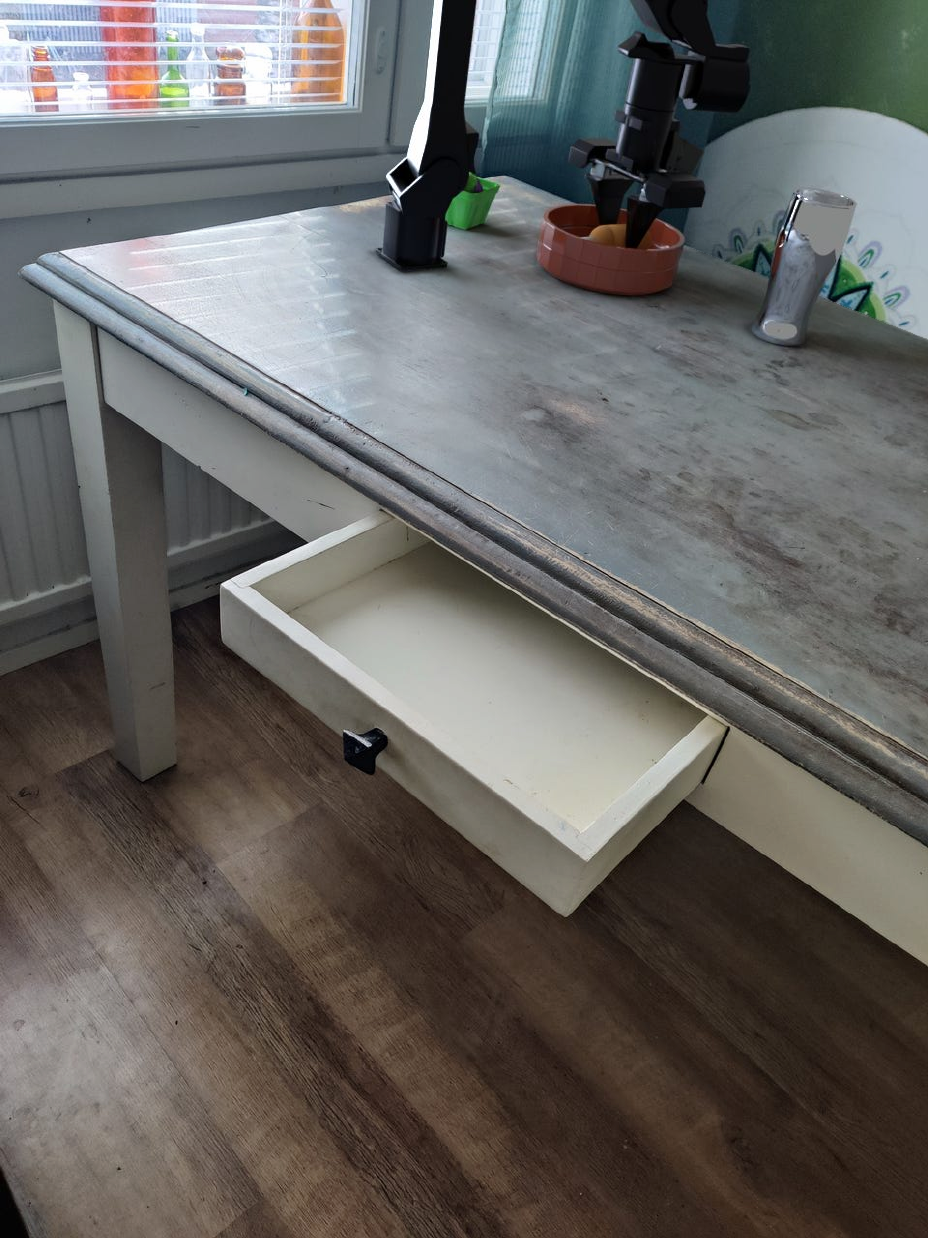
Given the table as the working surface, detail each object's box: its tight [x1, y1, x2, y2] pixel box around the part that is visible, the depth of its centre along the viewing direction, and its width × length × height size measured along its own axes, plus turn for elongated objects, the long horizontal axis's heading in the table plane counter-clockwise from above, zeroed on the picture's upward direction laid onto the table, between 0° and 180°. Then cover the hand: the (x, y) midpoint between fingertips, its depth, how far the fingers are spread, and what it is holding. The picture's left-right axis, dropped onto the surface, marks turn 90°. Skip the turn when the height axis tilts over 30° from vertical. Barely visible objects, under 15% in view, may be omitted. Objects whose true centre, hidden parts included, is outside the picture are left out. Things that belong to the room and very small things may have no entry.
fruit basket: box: [445, 171, 501, 231], centre depth 123 cm, size 11×9×11 cm
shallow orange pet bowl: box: [535, 203, 686, 296], centre depth 116 cm, size 17×17×6 cm
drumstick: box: [580, 224, 652, 249], centre depth 116 cm, size 12×4×4 cm, turn 122°
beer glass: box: [750, 187, 858, 347], centre depth 104 cm, size 7×7×15 cm
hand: (618, 246), depth 117 cm, fingers open, 4 cm apart
